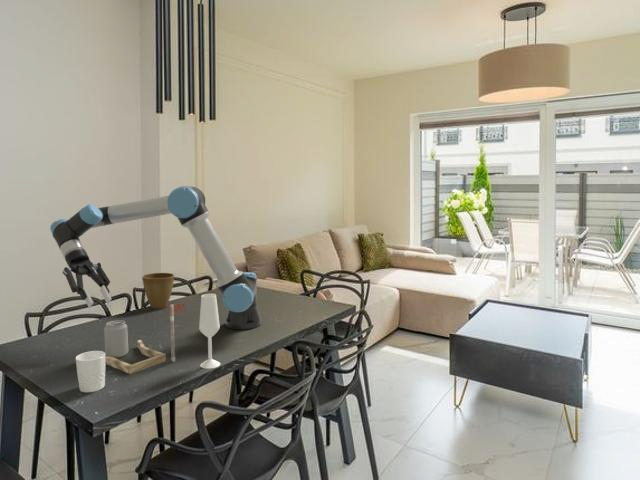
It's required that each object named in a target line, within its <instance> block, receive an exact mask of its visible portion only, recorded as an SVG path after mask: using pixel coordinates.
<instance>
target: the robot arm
mask: <svg viewBox="0 0 640 480" xmlns="http://www.w3.org/2000/svg"><path fill="white" fill-rule="evenodd" d="M209 213H210V212H209V209H208V208H207V205H206V197H205V194H204V192H203V191H202V190H200V189H199V188H198V187H195V186H191V185H190V186H187V185H186V186H185V185H183V186H179V187H176V188H175V189H173V190H171V192H170V193H169V195H165V196H158V197H153V198H152V197H151V198H146V199H142V200H136V201H131V202H126V203H125V202H124V203H118V204H114V205H109V206H103V207H97V206H96V205H93V204H92V203H89V204H87V205H85V206H84V207H82V208H80V210H79V211H77V212H76V213H75V214H73V216H71V217H70V218H68V219H67V218H59V219H58V220H54V221H53V222H52V223H51V225H50V228H49V229H50V232H51V234H52V237H53V239H54V240H55V242H56V244H57V246H58V248H59V250H60V253H61V254H62V256H63V258H64V260H65V263H66V265H67V266H68V267H67V266H65V267H64V269H63V271H62V274H63V275H64V277H65V279H66V280H67V282H68V286H69V287H70V290H71V293H73V294H74V293H77V295H80V298H81V299H82V301H83V300H84V301H85V303H86V304H87V307H88V308H92V307H93V305H94V301H93V299H92V297H91V295H90V294H89V292H88V289H87V288H84V281H83V276H87V277H89V278H91V279H92V281H93V282H95V284H96V285H98V286H99V288H100V289H99V291H100V294H102V297H103V299H104V301H105V303H106V304H110V303H111V301H112V297H111V295H110V289H109V287H108V286H109V285H110V283H111V280H110V279H109V277H108V276H107V274H106V273H105V271H104V269H103V268H102V264H101V262H96V263H93V262H92V261H91V260H90V257H89V255H88V253H87V251H86V249H85V247H84V245H83V244H82V241H81V240H80V237H82V236H83V235H84V234H85V233H87V232H88V231H90V230H91V229H94V228H98V227H104V226H105V227H106V226H108V225H109V226H110V225H115V224H120V223H124V222H125V223H126V222H131V221H132V222H133V221H138V220H142V219H148V218H149V219H150V218H154V217H159V216H165V215H170V214H172V215H173V216H175V217H176V218H177V220H178V221H179V223H180V225H181V226H182V227H184V228H187V229H188V230H189V232H190V234H191V236H192V238H193V239H194V241H195V243H196V245H197V246H198V248H199V249H200V252H201V253H202V255H203V258H205V260H206V262H207V264H208V266H209V267H210V269H211V271H212V273H213V274H214V276H215V277H216V279H217V281H218V282H217V284H216V285H217V286H216V287H217V289H218V291H219V292H220V294H221V297H222V304H223V305H224V307H225V308H226V309H227V310H228V312H227V315H226V319H225V326H226V327H227V328H229V329H233V330H251V329H255V328H257V327H259V325H260V324H262V318H261V315H260V312H259V310H258V309H259V308H258V306H257V305H258V304H257V300H258V299H257V298H258V297H257V294H258V293H257V292H258V291H257V287H258V285H257V284H258V283H257V281H258V278H257V274H256V273H255V272H253V271H250V272H249V271H248V272H247V271H246V272H245V271H241V270H238V268H237V267H236V265H235V263H234V262H233V260H232V258H231V256H230V255H229V254H230V253H228V250H227V249H226V248H225V246H224V244H223V242H222V241H221V238H220V237H219V236H218V233H217V231H216V230H215V228H214V227H213V224H212V223H211V221H210V219H209ZM72 272H73V273H72ZM73 274H74V275H75V278H74V275H73ZM260 326H261V325H260Z"/></svg>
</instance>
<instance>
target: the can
mask: <svg viewBox="0 0 640 480" xmlns="http://www.w3.org/2000/svg"><path fill="white" fill-rule="evenodd" d="M128 331H129V330H128V325H127V324H126V321H125V320H123V319H122V320H119V319H117V320H111V321H108V322H106V323H105V326H104V328H103V335H104V352H105V356H107V357H114V358H116V359H119V358H122V357H125V356H126V355H127V354H128V353H129V334H128V333H129V332H128Z"/></svg>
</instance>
